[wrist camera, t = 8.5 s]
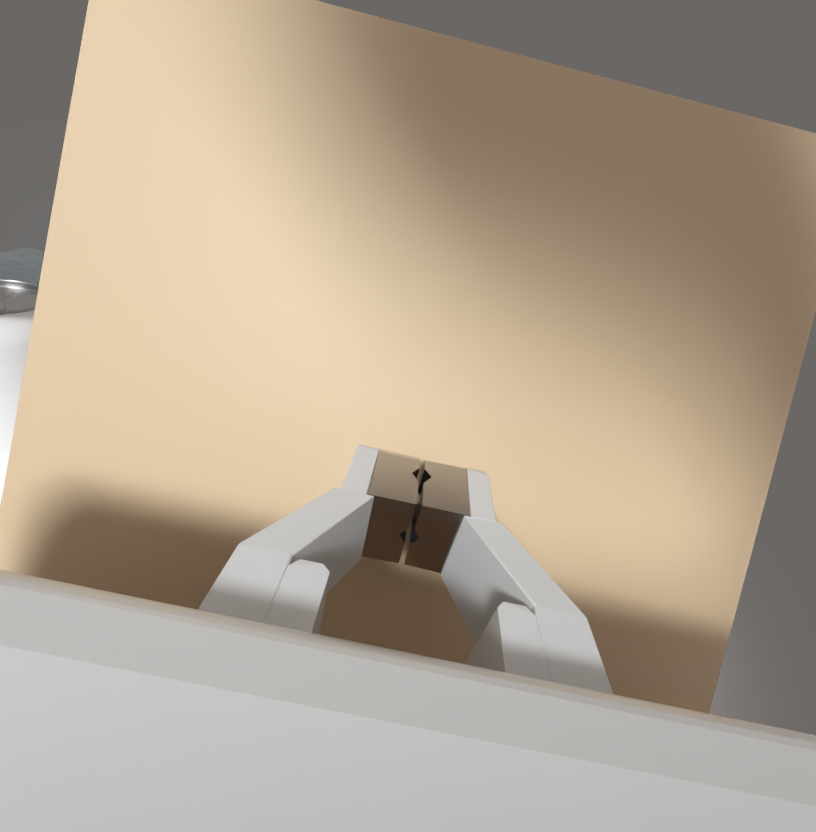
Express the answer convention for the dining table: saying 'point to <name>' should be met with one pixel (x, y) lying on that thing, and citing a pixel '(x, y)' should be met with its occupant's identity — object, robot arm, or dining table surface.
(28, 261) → the dining table surface
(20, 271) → the dining table surface
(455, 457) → the carton flap
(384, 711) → the robot arm
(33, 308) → the can
